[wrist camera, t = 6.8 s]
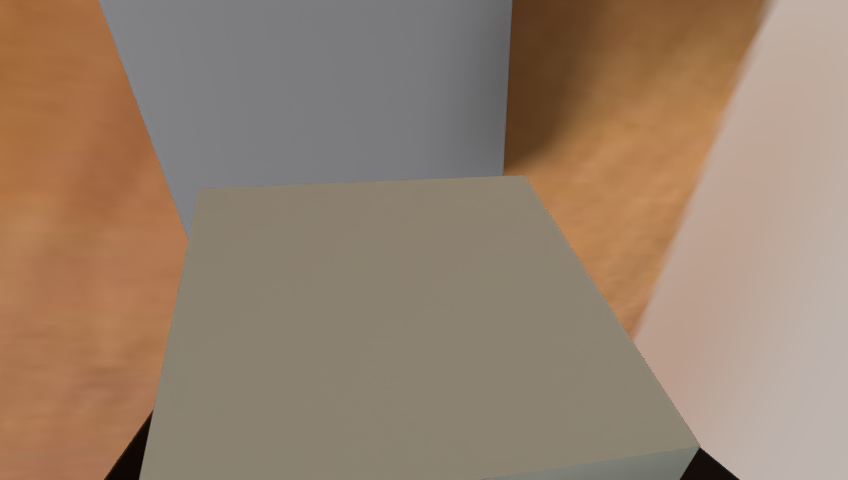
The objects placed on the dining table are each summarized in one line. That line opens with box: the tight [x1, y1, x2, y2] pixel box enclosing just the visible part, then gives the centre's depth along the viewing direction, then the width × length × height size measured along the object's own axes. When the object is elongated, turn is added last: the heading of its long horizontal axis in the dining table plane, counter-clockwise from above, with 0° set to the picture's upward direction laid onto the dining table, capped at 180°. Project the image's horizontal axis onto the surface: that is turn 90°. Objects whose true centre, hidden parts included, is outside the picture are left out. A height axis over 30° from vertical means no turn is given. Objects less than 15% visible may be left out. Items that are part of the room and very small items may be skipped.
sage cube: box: [139, 175, 700, 480], centre depth 8 cm, size 5×5×5 cm
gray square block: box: [99, 0, 512, 240], centre depth 16 cm, size 9×9×4 cm
